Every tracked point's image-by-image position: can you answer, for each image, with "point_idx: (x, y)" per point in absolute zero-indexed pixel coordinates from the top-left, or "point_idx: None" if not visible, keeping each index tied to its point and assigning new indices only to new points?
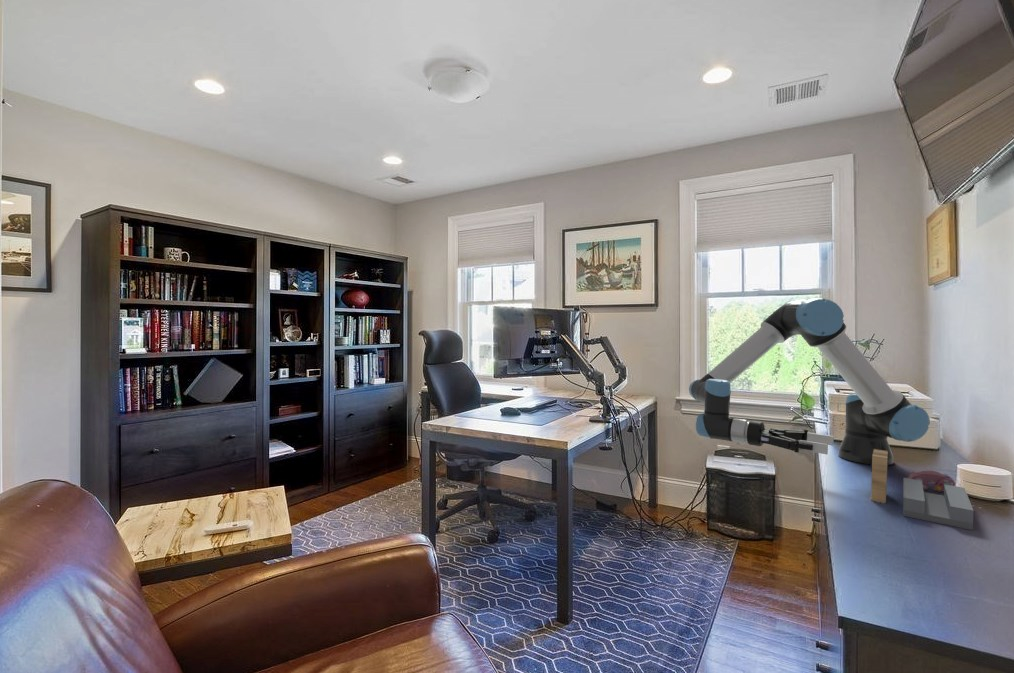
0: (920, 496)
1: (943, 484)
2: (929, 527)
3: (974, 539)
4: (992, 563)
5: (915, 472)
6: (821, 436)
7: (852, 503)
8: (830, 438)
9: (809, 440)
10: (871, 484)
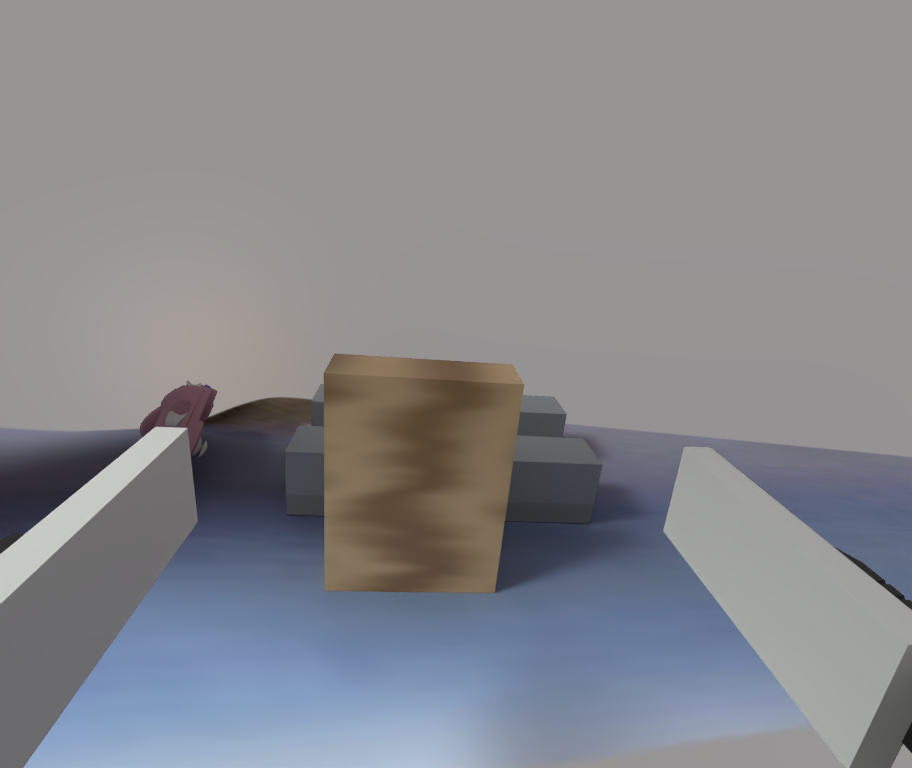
0: (536, 440)
1: (206, 418)
2: (628, 490)
3: (614, 448)
4: (732, 446)
5: (172, 424)
6: (124, 512)
7: (626, 649)
8: (181, 465)
9: (26, 727)
10: (503, 525)
